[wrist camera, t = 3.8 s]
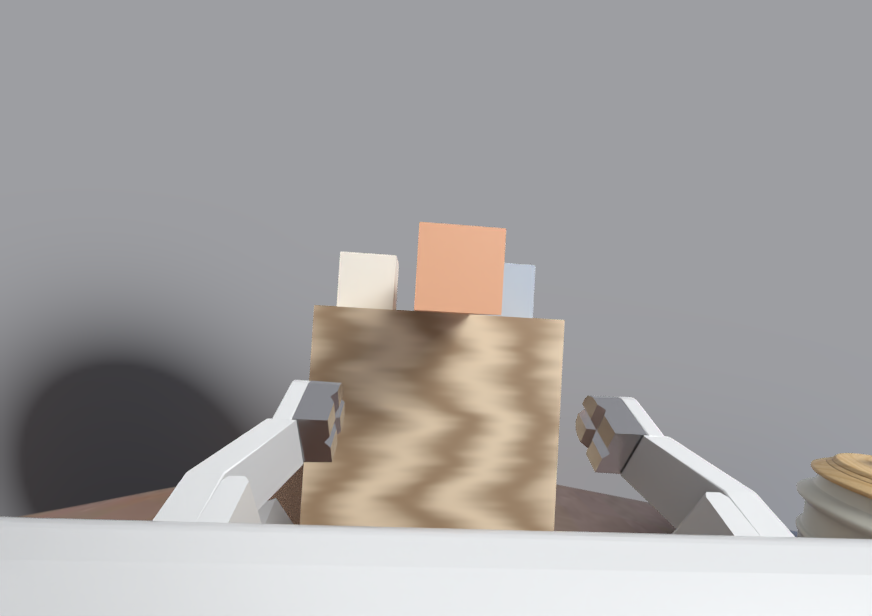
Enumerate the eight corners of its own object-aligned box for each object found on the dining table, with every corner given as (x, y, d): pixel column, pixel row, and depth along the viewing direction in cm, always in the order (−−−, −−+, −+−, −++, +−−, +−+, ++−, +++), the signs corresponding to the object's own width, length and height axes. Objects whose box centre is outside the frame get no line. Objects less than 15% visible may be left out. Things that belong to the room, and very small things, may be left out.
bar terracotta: (414, 309, 15) (419, 221, 15) (414, 311, 36) (416, 275, 36) (501, 315, 15) (505, 228, 15) (451, 314, 36) (453, 277, 36)
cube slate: (479, 315, 30) (482, 261, 30) (470, 315, 35) (473, 269, 35) (532, 318, 30) (535, 265, 30) (516, 317, 35) (518, 272, 35)
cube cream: (336, 306, 29) (340, 251, 29) (348, 307, 34) (351, 260, 34) (392, 310, 30) (396, 255, 30) (395, 310, 35) (398, 263, 35)
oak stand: (288, 685, 22) (314, 305, 23) (334, 551, 35) (350, 308, 35) (545, 681, 23) (564, 319, 24) (500, 553, 36) (513, 317, 36)
